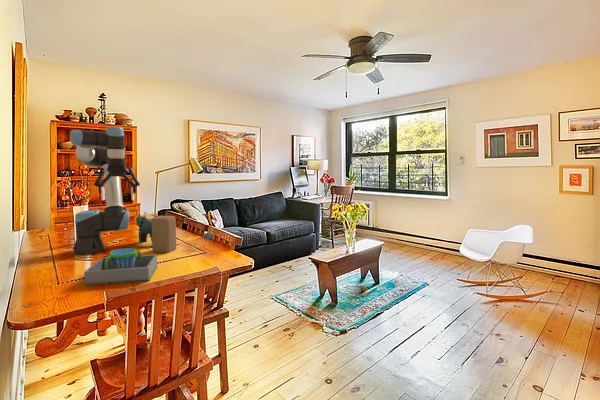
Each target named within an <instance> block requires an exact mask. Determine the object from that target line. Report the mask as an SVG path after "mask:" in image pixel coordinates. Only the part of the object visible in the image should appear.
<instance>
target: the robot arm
mask: <svg viewBox="0 0 600 400" xmlns="http://www.w3.org/2000/svg"><path fill="white" fill-rule="evenodd" d="M70 143H71V145H72V146H76V149H75V152H74V154H75V157H76V159H77V160H78V161H79V162H80V163H81V164H84V165H86V166H89V167H90V166H91V167H99V168H100V172H99V173H98V176H97V178H96V180H95V182H94V183H93V185H94V187H98V194H100V197H101V198H100V199H101V201H105V203H106V206H105V207H104V208H103V211H100V210H99V209H89V210H83V211H79V212H76V214H75V215H74V223H75V224H74V225H75V226H74V227H75V241H74V246H73V247H72V253H73V254H74V255H90V254H91V255H93V254H97V253H101V252H103V251H105V250H106V244H105V243H104V241H103V239H102V236H101V235H102V234H101V233H103V232H104V233H105V232H116V231H119V232H120V231H124V230H127V229H128V228H129V223H130V210H128V209H127V208H126V206H125V205H124V202H123V192H122V180H121V179H122V178H121V177H123V178H124V179H125V181H126V182H128V183H129V184H130V186H132V187H130V191H131V192H130V195H131V198H130V199H131V201H133V200H134V201H135V194H136V193H137V187H139V186H140V185H141V183H140V182H139V180H138V178H137V176H136V175H135V173H134V172H133V167H129V168H128V167H127V168H126V159H125V158H126V154H125V153H126V151H125V130H124V128H123V127H120V126H107V127H106V129H105V131H98V130H97V131H94V130H93V131H92V130H82V129H73V130H71V131H70ZM126 172H127V173H129V175H127V174H126ZM129 176H131V178H132V179H131V178H130V177H129ZM102 179H103V180H102ZM101 180H102V181H101Z"/></svg>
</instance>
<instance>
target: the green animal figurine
mask: <svg viewBox="0 0 600 400" xmlns="http://www.w3.org/2000/svg"><path fill="white" fill-rule="evenodd" d="M146 215H148V213H147V212H144V213H143V215H142V216H141V214H138V215H137V217H136V218H135V219H136V221H135V222H136V226H137V227H138V228H139V229H138V242H139V243H147V241H148V235H149V238H150V242H152V221H151V218H150V217H149V218H148V217H147V216H146Z"/></svg>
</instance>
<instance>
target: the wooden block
mask: <svg viewBox="0 0 600 400" xmlns="http://www.w3.org/2000/svg"><path fill="white" fill-rule="evenodd" d="M150 220H151V221H152V241H151V247H152V252H153V253H163V254H164V253H165V254H166V253H167V254H169V253H170V252H172V251H174V250H176V249H177V220H176V216H175V215H158V216H155V217H152V218H150Z"/></svg>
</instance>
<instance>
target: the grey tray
mask: <svg viewBox="0 0 600 400" xmlns="http://www.w3.org/2000/svg"><path fill="white" fill-rule="evenodd" d="M141 256H142V261H141V262H139V261H138V255H136V256H135V266H134V268H125V269H114V268H113V264H112V260H111V258H110V259H109V260H108V262H107V265H108V269H109V270H106V269H105V267H104V264H105V260H106V258H107V257H108V256H107V257H100V259H98V260H97V261H96V262H95V263H93V264H92V265H90V267H88V268H87V269H86V270H85V271H84V274H83V275H84V286H85V287H87V286H86V285H91V286H98V285H97V284H104V285H106V284H105V283H118V284H131V283H142V282H145V283H146V282H150V280H151V278H152V276H153V275H154V273H155V271H156V270H157V268H158V254H149V255H147V254H145V255H142V254H141Z"/></svg>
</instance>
